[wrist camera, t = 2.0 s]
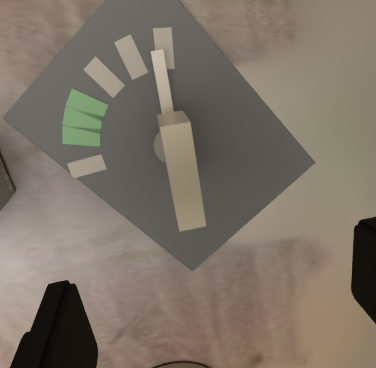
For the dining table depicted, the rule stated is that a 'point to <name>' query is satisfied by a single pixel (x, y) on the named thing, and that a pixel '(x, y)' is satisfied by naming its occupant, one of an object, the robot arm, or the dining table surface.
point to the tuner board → (148, 124)
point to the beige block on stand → (177, 153)
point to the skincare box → (5, 186)
